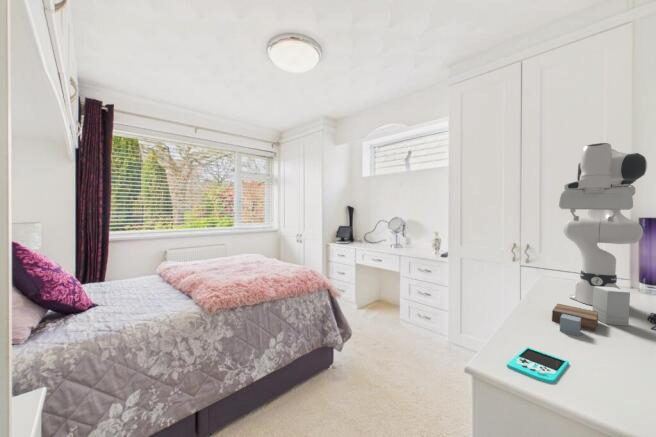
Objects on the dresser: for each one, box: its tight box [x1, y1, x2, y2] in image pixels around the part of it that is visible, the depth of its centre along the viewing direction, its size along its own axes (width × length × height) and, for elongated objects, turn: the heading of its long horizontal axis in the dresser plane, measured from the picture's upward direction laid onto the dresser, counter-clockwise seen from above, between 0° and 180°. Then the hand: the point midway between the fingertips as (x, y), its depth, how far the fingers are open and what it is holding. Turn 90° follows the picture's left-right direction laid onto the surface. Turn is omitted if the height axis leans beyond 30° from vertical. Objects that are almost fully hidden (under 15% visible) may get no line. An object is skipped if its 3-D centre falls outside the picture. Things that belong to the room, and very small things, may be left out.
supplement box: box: [592, 286, 631, 327], centre depth 106 cm, size 7×7×13 cm
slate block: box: [559, 314, 582, 337], centre depth 97 cm, size 5×5×5 cm
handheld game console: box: [506, 346, 570, 384], centre depth 75 cm, size 10×16×1 cm, turn 128°
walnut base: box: [551, 303, 599, 332], centre depth 105 cm, size 12×12×4 cm
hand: (592, 221), depth 105 cm, fingers open, 8 cm apart
